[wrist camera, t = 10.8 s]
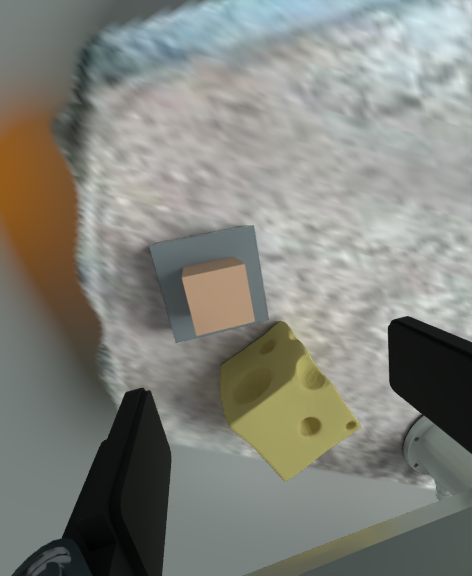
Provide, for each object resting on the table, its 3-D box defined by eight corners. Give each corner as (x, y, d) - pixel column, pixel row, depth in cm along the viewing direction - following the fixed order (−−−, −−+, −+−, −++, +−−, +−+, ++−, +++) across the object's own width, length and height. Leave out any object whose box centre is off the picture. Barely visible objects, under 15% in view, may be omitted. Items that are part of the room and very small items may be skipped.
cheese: (280, 317, 32) (320, 357, 22) (319, 374, 35) (368, 431, 25) (213, 365, 32) (224, 426, 22) (258, 418, 35) (285, 492, 25)
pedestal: (259, 308, 31) (269, 319, 27) (177, 327, 29) (175, 343, 26) (245, 225, 28) (253, 225, 24) (154, 243, 27) (149, 246, 23)
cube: (234, 256, 24) (244, 264, 20) (242, 303, 26) (254, 321, 21) (183, 267, 24) (181, 277, 19) (195, 315, 25) (196, 336, 20)
